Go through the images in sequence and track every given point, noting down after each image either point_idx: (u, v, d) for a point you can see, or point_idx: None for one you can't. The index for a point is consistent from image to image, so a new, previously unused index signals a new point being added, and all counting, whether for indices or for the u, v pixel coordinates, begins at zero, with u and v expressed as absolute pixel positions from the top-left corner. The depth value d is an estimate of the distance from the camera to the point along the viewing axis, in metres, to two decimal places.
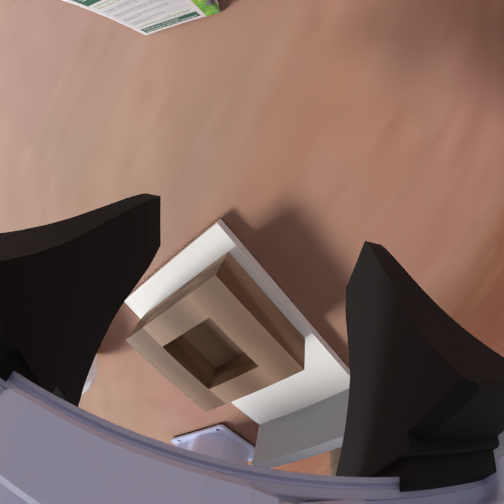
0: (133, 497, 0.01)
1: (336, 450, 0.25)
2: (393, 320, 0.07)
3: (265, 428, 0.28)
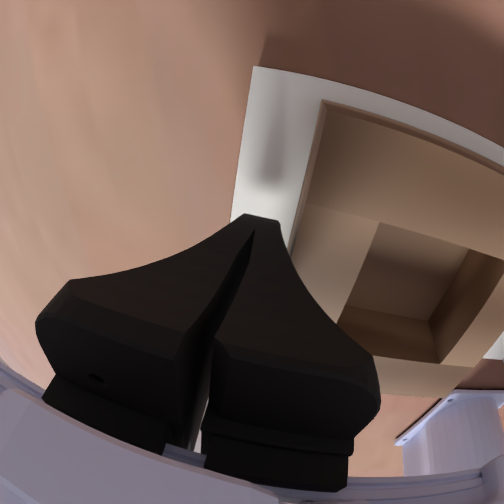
0: (133, 497, 0.01)
1: None
2: None
3: None
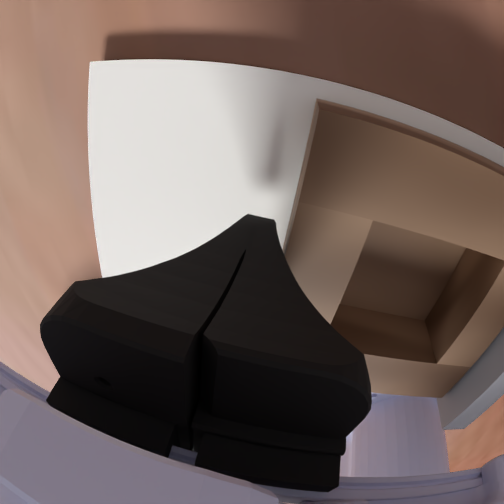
0: (133, 497, 0.01)
1: None
2: None
3: None
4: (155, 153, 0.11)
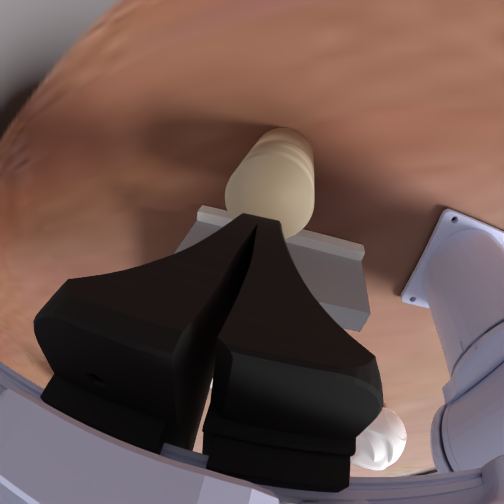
0: (133, 497, 0.01)
1: None
2: None
3: None
4: None
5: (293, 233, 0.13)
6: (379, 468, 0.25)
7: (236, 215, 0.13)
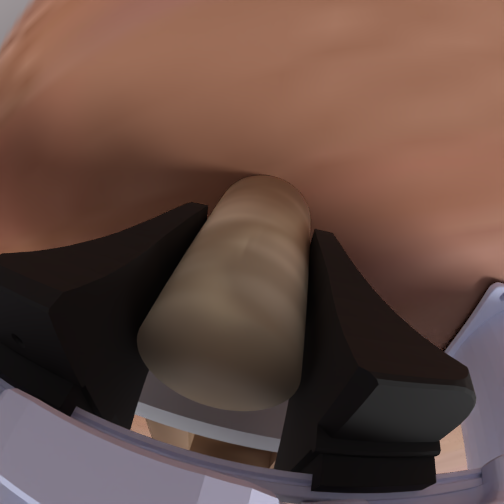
0: (133, 497, 0.01)
1: None
2: (323, 306, 0.07)
3: None
4: None
5: (264, 407, 0.07)
6: None
7: (165, 377, 0.07)
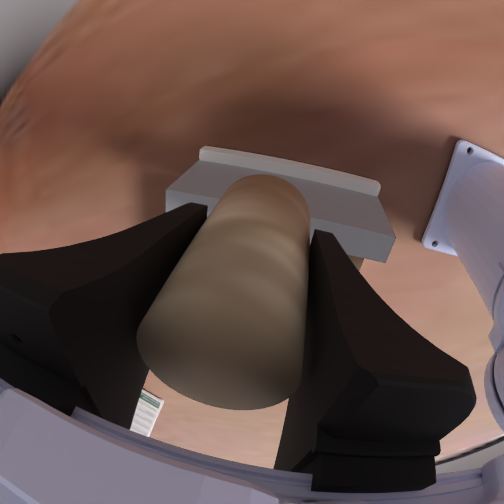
0: (133, 497, 0.01)
1: None
2: (323, 306, 0.07)
3: None
4: None
5: (265, 406, 0.07)
6: None
7: (165, 376, 0.07)
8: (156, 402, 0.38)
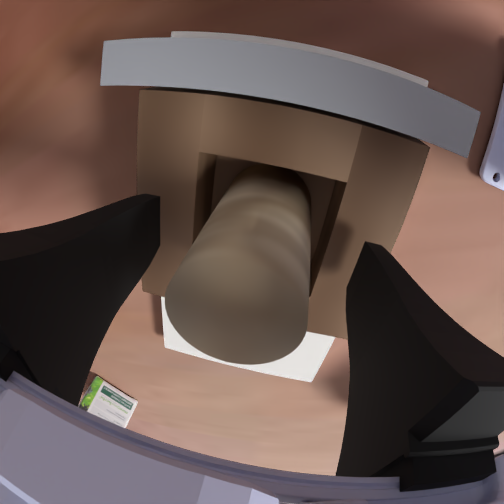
0: (133, 497, 0.01)
1: None
2: (393, 320, 0.07)
3: None
4: None
5: (275, 358, 0.08)
6: None
7: (187, 333, 0.08)
8: (128, 402, 0.30)
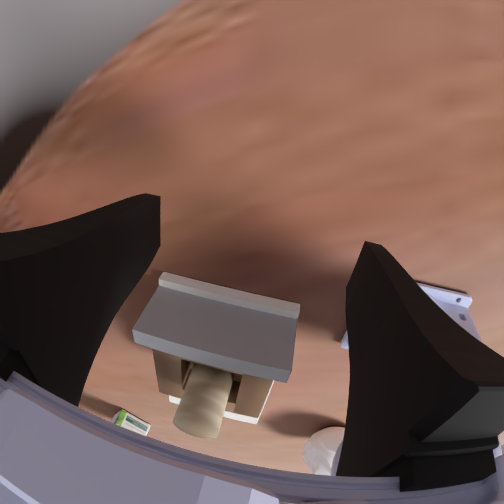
0: (133, 497, 0.01)
1: None
2: (393, 320, 0.07)
3: None
4: None
5: (211, 437, 0.21)
6: None
7: (181, 428, 0.21)
8: (144, 426, 0.43)
